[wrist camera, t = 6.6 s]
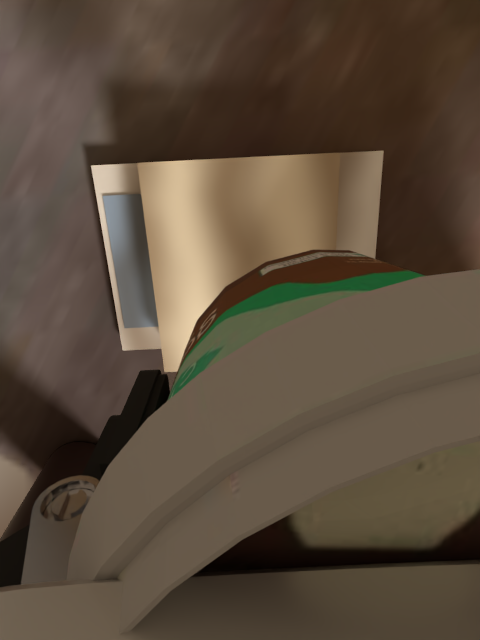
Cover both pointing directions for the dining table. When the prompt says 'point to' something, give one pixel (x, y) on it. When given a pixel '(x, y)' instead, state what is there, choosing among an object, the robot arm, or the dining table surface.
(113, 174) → the build base
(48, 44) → the dining table surface
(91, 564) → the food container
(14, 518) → the bottle
